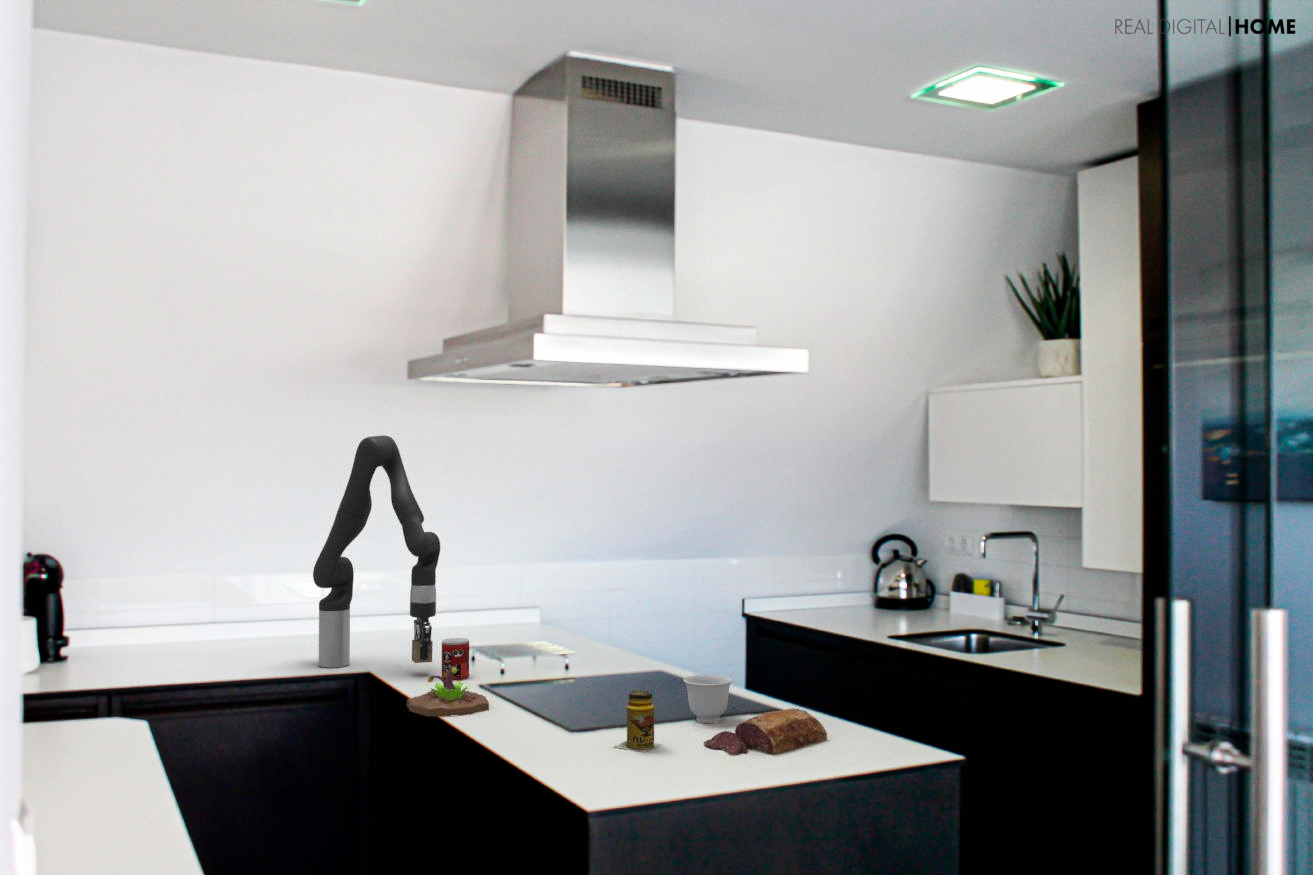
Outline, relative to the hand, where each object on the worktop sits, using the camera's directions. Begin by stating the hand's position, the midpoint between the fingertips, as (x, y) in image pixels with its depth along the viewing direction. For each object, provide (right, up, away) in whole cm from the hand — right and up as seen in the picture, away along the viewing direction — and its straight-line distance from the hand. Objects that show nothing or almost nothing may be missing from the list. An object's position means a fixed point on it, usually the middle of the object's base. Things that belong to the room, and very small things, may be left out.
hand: (422, 657), depth 324 cm
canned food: (+11, -5, -5) cm, 13 cm away
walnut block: (0, -1, 0) cm, 1 cm away
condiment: (+65, -4, -81) cm, 104 cm away
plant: (+16, -5, -43) cm, 46 cm away
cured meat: (+93, -4, -78) cm, 122 cm away
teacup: (+81, -4, -55) cm, 98 cm away
